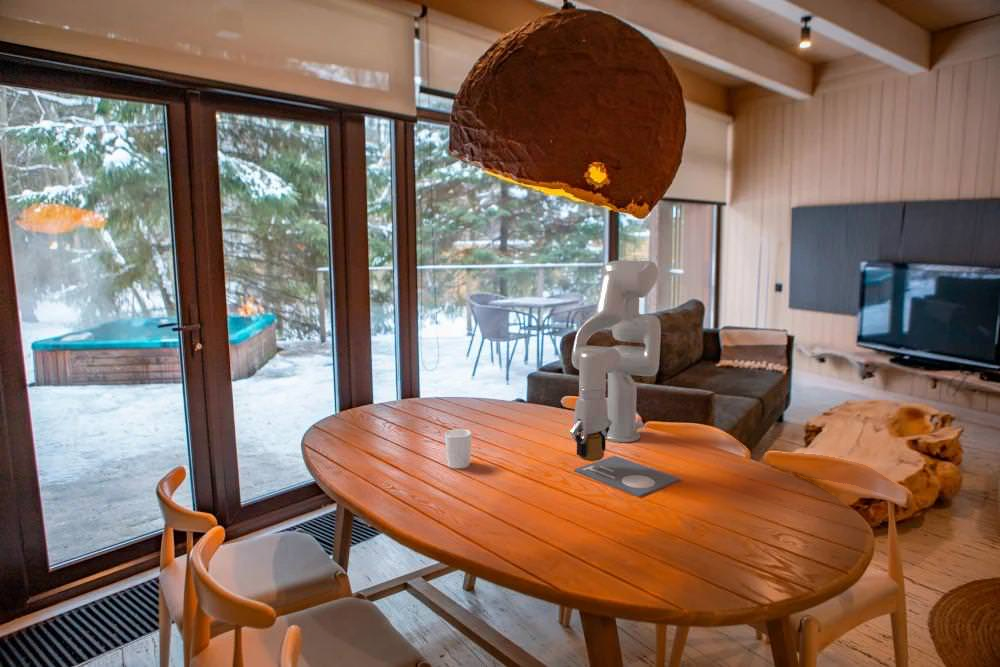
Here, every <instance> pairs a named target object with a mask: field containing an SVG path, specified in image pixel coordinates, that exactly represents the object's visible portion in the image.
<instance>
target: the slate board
mask: <svg viewBox="0 0 1000 667" xmlns="http://www.w3.org/2000/svg"><path fill="white" fill-rule="evenodd" d="M573 472H575V473H577V474H579V475H582V476H585V477H587V478H590V479H592V480H595V481H597V482H600V483H602V484H605V485H608V486H609V487H612V488H615V489H617V490H620V491H623V492H624V493H627V494H630V495H632V496H634V497H637V498H641V497H644V496H646V495H649V494H650V493H653V492H656V491H658V490H660V489H664V488H665V487H668V486H671V485H673V484H675V483H678V482H680V481H681V477H677V476H675V475H671V474H669V473H667V472H666V473H665V472H663V471H660V470H657V469H654V468H652V467H648V466H646V465H643V464H640V463H637V462H633V461H631V460H628V459H626V458H623V457H619V456H618V455H613V456H611V457H610V456H609V457H607V458H603V459H600V460H597V461H594V462H592V463H588V464H586V465H582V466H580V467H576V468H574V469H573ZM670 484H671V485H670Z"/></svg>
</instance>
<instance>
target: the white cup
mask: <svg viewBox="0 0 1000 667" xmlns="http://www.w3.org/2000/svg"><path fill="white" fill-rule="evenodd" d="M444 441H445V442H444V443H445V452H446V454H445V455H446V459H447V467H449V468H451V469H455V470H461V469H466V468H468V467H469V466H470V465H471V463H470V462H471V459H470V458H471V453H472V452H471V448H472V432H471V430H468V429H462V428H459V429H458V428H455V429H450V430H447V431H446V432H444Z"/></svg>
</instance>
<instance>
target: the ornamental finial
mask: <svg viewBox="0 0 1000 667" xmlns="http://www.w3.org/2000/svg"><path fill="white" fill-rule="evenodd" d="M582 437H583V435H581V438H582ZM585 444H586V457H582V456H579V458H580V459H582V460H584V461H589V462H598V461H601V460H603V459H604V456H605V451H603V449H602V440H601V435H600V434H599V433H598V432H596V433H593V434H589V435H587V438H586V440H585Z"/></svg>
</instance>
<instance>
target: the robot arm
mask: <svg viewBox="0 0 1000 667" xmlns="http://www.w3.org/2000/svg"><path fill="white" fill-rule="evenodd" d="M658 270H659V269H658V266H657V264H656V263H655V262H653V261H650V260H627V259H626V260H611V261H609V262H607V263H606V264H604V267H603V276H602V278H601V281H600V282H601V283H600V286H599V292H598V297H597V302H596V307H595V308H596V309H595V313H594V314H593V315H592V316H590V317H589V318H588V319H586V321H585V322H584V323H583V324H581V326H580V327H579V329H578V330H577V332H576V334H575V338H574V342H573V346H572V352H571V363H572V366H573V367H574V368H575V369H576V370H578V372H579V376H578V379H579V380H578V398H577V399H576V403H575V406H574V416H573V427H572V428H570V429H571V430H569V433H570V435H571V436H572V438H573V439H574V441H575V442H576V455H577V456H578V457H580V456H582V457H586V444H585V440H586V438H587V435H589V434H593V433H596V432H598V433H599V434H600V435H601V440H602V449H603V451H604V452H605V451H606V441H607V440H608V441H612V442H615V443H616V442H617V443H632V442H636V441H638V440H639V439H640V438H641V434H640V432H638V429H641V428H643V427H644V422H643V421H639V422H637V383H636V382H635V380H634V379H633V378H632V376H639V377H640V376H642V377H654V376H656V374H657V373H658V372H659V369H660V368H659V367H660V358H661V357H660V356H661V355H660V354H661V340H662V339H661V338H662V337H661V336H662V328H661V326H662V325H661V321H660V319H659V318H658V317H657V315H653V314H646V313H640V299H643V298H645V297H646V296H648V295H649V293H651V290H652V289H653V288H654V286H655V285H656V282H657V280H658V276H659V275H658V274H659V271H658ZM611 327H612V328H611ZM608 328H611V333H612V334H611V335H612V337H613V338H614V339H615V340H616V341H619V342H626V343H638V344H639V343H641V344H644V346H633V345H613V346H611V347H609V346H601V345H600V346H599V345H587V343H588V340H589V339H590V338H591V337H592V336H593V335H595V334H596V333H597V332H600V331H602V330H605V329H608ZM606 377H607V382H606ZM606 387H607V388H606ZM606 391H607V398H606ZM582 435H583V437H582Z"/></svg>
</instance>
